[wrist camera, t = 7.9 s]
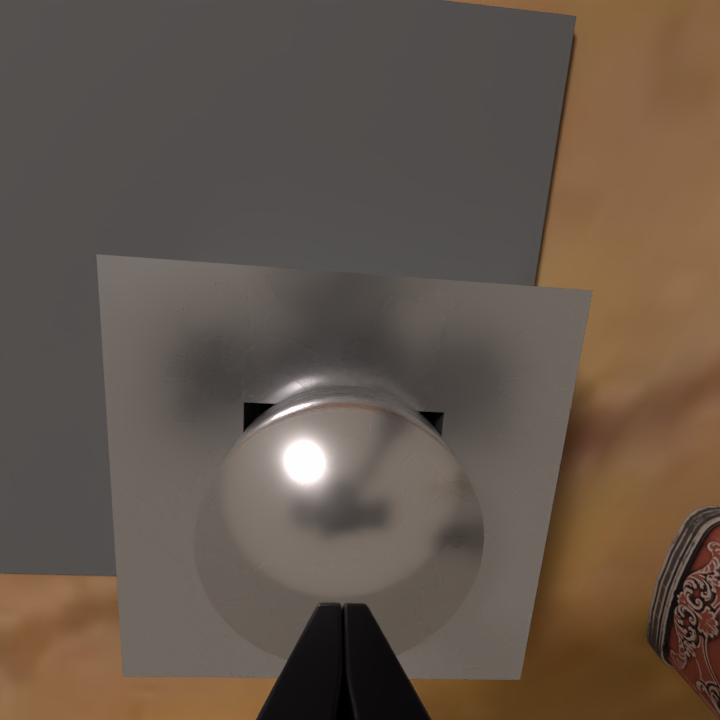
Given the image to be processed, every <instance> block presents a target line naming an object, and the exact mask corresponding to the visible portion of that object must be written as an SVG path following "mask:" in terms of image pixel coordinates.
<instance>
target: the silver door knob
mask: <svg viewBox="0 0 720 720" xmlns="http://www.w3.org/2000/svg"><path fill="white" fill-rule="evenodd" d="M483 545H484V527H483V518H482V513H481V509H480V504H479V501H478V499H477V496H476V493H475V491H474V488H473V486H472V484H471V483H470V481H469V479H468V477H467V476H466V474H465V472H464V471H463V469H462V467H461V466H460V464H459V463H458V461H457V460H456V458H455V457H454V455H453V454H452V452H451V450H450V449H449V447H448V446H447V444H446V443H445V441H444V440H443V438H442V437H441V435H440V434H439V433H438V431H437V430H436V429H435V427H434V426H433V425H432V424H431V423H430V422H429V421H428V420H427V419H426V418H425V417H424V416H423V415H422V414H421V413H420V412H418V411H417V410H416V409H414V408H413V407H412V406H410V405H409V404H407V403H405V402H403V401H402V400H400V399H398V398H396V397H394V396H391V395H389V394H386V393H384V392H381V391H377V390H373V389H369V388H365V387H357V386H327V387H319V388H314V389H310V390H307V391H303V392H300V393H297V394H295V395H292V396H290V397H287V398H285V399H283V400H282V401H280V402H278V403H276V404H275V405H273V406H271V407H270V408H269V409H267V410H266V411H265V412H263V413H262V414H261V415H259V416H258V417H257V418H256V419H255V420H254V421H253V422H252V423H251V424H250V425H249V426H248V427H247V429H246V430H245V431H244V433H243V434H242V435H241V437H240V438H239V439H238V441H237V442H236V444H235V445H234V447H233V449H232V450H231V452H230V453H229V455H228V456H227V458H226V459H225V461H224V462H223V464H222V465H221V467H220V469H219V470H218V472H217V473H216V475H215V476H214V478H213V480H212V481H211V483H210V485H209V487H208V489H207V490H206V492H205V494H204V497H203V500H202V502H201V505H200V508H199V510H198V515H197V520H196V524H195V533H194V553H195V562H196V566H197V570H198V574H199V578H200V581H201V583H202V586H203V588H204V590H205V593H206V595H207V597H208V598H209V600H210V602H211V603H212V605H213V607H214V608H215V610H216V611H217V612H218V613H219V615H220V616H221V617H222V618H223V620H224V621H225V622H226V623H227V624H228V625H229V626H230V627H231V628H232V629H233V630H234V631H235V632H236V633H238V634H239V635H240V636H242V637H243V638H244V639H246V640H247V641H248V642H250V643H251V644H253V645H255V646H256V647H258V648H260V649H262V650H263V651H265V652H267V653H270V654H272V655H274V656H277V657H279V658H282V659H285V660H288V658H289V656H290V655H291V653H292V651H293V649H294V647H295V645H296V643H297V641H298V639H299V638H300V636H301V634H302V632H303V630H304V628H305V626H306V624H307V623H308V621H309V619H310V617H311V615H312V613H313V611H314V609H315V607H316V606H317V605H318V604H319V603H320V602H333V603H340V604H341V605H342V607H343V605H344V604H345V603H365V604H366V605H367V606H368V607H369V608H370V610H371V612H372V614H373V616H374V617H375V619H376V621H377V623H378V625H379V626H380V628H381V630H382V632H383V634H384V635H385V637H386V639H387V641H388V643H389V644H390V646H391V648H392V650H393V652H394V653H395V655H396V656H397V655H399V654H402V653H404V652H406V651H408V650H410V649H411V648H413V647H415V646H417V645H419V644H420V643H422V642H423V641H425V640H426V639H428V638H429V637H431V636H432V635H433V634H434V633H436V632H437V631H438V630H439V629H440V628H442V627H443V626H444V625H445V624H446V623H447V622H448V621H449V620H450V618H451V617H452V616H453V615H454V614H455V613H456V612H457V610H458V609H459V608H460V606H461V605H462V603H463V602H464V601H465V599H466V597H467V596H468V594H469V592H470V590H471V588H472V586H473V584H474V582H475V579H476V576H477V574H478V571H479V568H480V563H481V559H482V555H483Z"/></svg>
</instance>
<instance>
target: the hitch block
mask: <svg viewBox="0 0 720 720" xmlns="http://www.w3.org/2000/svg"><path fill="white" fill-rule="evenodd" d="M96 256H97V272H98V288H99V304H100V320H101V336H102V352H103V368H104V383H105V399H106V415H107V431H108V447H109V463H110V479H111V495H112V511H113V527H114V543H115V559H116V575H117V591H118V607H119V623H120V638H121V654H122V670H123V677H233V678H278V677H279V675H280V673H281V672H282V670H283V668H284V666H285V664H286V662H287V660H285V659H282V658H279V657H277V656H274V655H272V654H270V653H267V652H265V651H263V650H262V649H260V648H258V647H256V646H255V645H253V644H251V643H250V642H248V641H247V640H246V639H244V638H243V637H242V636H240V635H239V634H238V633H236V632H235V631H234V630H233V629H232V628H231V627H230V626H229V625H228V624H227V623H226V622H225V621H224V620H223V618H222V617H221V616H220V615H219V613H218V612H217V611H216V610H215V608H214V607H213V605H212V603H211V602H210V600H209V598H208V597H207V595H206V593H205V590H204V588H203V586H202V583H201V581H200V578H199V574H198V570H197V566H196V562H195V553H194V533H195V524H196V520H197V515H198V510H199V508H200V505H201V502H202V500H203V497H204V494H205V492H206V490H207V489H208V487H209V485H210V483H211V481H212V480H213V478H214V476H215V475H216V473H217V472H218V470H219V469H220V467H221V465H222V464H223V462H224V461H225V459H226V458H227V456H228V455H229V453H230V452H231V450H232V449H233V447H234V445H235V444H236V442H237V441H238V439H239V438H240V437H241V435H242V434H243V433H244V431H245V430H246V429H247V427H248V426H249V425H250V424H251V423H252V422H253V421H254V420H255V419H256V418H257V417H258V416H259V415H261V414H262V413H263V412H265V411H266V410H267V409H269V408H270V407H271V406H273V405H275V404H276V403H278V402H280V401H282V400H283V399H285V398H287V397H290V396H292V395H295V394H297V393H300V392H303V391H307V390H310V389H314V388H319V387H327V386H357V387H365V388H369V389H373V390H377V391H381V392H384V393H386V394H389V395H391V396H394V397H396V398H398V399H400V400H402V401H403V402H405V403H407V404H409V405H410V406H412V407H413V408H414V409H416V410H417V411H418V412H420V413H421V414H422V415H423V416H424V417H425V418H426V419H427V420H428V421H429V422H430V423H431V424H432V425H433V426H434V427H435V429H436V430H437V431H438V433H439V434H440V435H441V437H442V438H443V440H444V441H445V443H446V444H447V446H448V447H449V449H450V450H451V452H452V454H453V455H454V457H455V458H456V460H457V461H458V463H459V464H460V466H461V467H462V469H463V471H464V472H465V474H466V476H467V477H468V479H469V481H470V483H471V484H472V486H473V488H474V491H475V493H476V496H477V499H478V501H479V504H480V509H481V513H482V518H483V527H484V545H483V555H482V559H481V563H480V568H479V571H478V574H477V576H476V579H475V582H474V584H473V586H472V588H471V590H470V592H469V594H468V596H467V597H466V599H465V601H464V602H463V603H462V605H461V606H460V608H459V609H458V610H457V612H456V613H455V614H454V615H453V616H452V617H451V618H450V620H449V621H448V622H447V623H446V624H445V625H444V626H443V627H442V628H440V629H439V630H438V631H437V632H436V633H434V634H433V635H432V636H431V637H429V638H428V639H426V640H425V641H423V642H422V643H420V644H419V645H417V646H415V647H413V648H411V649H410V650H408V651H406V652H404V653H402V654H399V655H397V656H396V657H397V659H398V661H399V662H400V664H401V666H402V668H403V669H404V671H405V673H406V675H407V677H408V678H409V679H483V680H520V678H521V673H522V667H523V662H524V656H525V651H526V646H527V640H528V635H529V630H530V624H531V619H532V614H533V608H534V603H535V597H536V592H537V587H538V581H539V576H540V571H541V565H542V560H543V554H544V549H545V544H546V538H547V533H548V528H549V522H550V517H551V512H552V506H553V501H554V495H555V490H556V485H557V479H558V474H559V469H560V463H561V458H562V452H563V447H564V442H565V436H566V431H567V426H568V420H569V415H570V410H571V404H572V399H573V393H574V388H575V383H576V377H577V372H578V367H579V361H580V356H581V350H582V345H583V340H584V334H585V329H586V324H587V318H588V313H589V307H590V302H591V297H592V291H593V290H579V289H565V288H552V287H538V286H524V285H511V284H497V283H483V282H470V281H456V280H442V279H428V278H415V277H401V276H387V275H374V274H360V273H346V272H333V271H319V270H305V269H291V268H278V267H264V266H250V265H237V264H223V263H209V262H196V261H182V260H168V259H154V258H141V257H127V256H113V255H100V254H96Z"/></svg>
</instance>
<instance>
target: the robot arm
mask: <svg viewBox="0 0 720 720" xmlns="http://www.w3.org/2000/svg"><path fill="white" fill-rule="evenodd" d="M256 720H431V718H430V716H429V714H428V713H427V711H426V709H425V707H424V705H423V704H422V702H421V700H420V698H419V696H418V695H417V693H416V691H415V689H414V687H413V686H412V684H411V682H410V680H409V678H408V677H407V675H406V673H405V671H404V669H403V668H402V666H401V664H400V662H399V661H398V659H397V657H396V655H395V653H394V652H393V650H392V648H391V646H390V644H389V643H388V641H387V639H386V637H385V635H384V634H383V632H382V630H381V628H380V626H379V625H378V623H377V621H376V619H375V617H374V616H373V614H372V612H371V610H370V608H369V607H368V606H367V605H366V604H365V603H345V604H344V605H343V607H342V605H341V604H340V603H333V602H320V603H319V604H318V605H317V606H316V607H315V609H314V611H313V613H312V615H311V617H310V619H309V621H308V623H307V624H306V626H305V628H304V630H303V632H302V634H301V636H300V638H299V639H298V641H297V643H296V645H295V647H294V649H293V651H292V653H291V655H290V656H289V658H288V660H287V662H286V664H285V666H284V668H283V670H282V672H281V673H280V675H279V677H278V679H277V681H276V683H275V685H274V687H273V688H272V690H271V692H270V694H269V696H268V698H267V700H266V702H265V704H264V705H263V707H262V709H261V711H260V713H259V715H258V717H257V719H256Z"/></svg>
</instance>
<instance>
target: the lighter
mask: <svg viewBox="0 0 720 720" xmlns="http://www.w3.org/2000/svg"><path fill="white" fill-rule="evenodd" d="M647 641H648V643H649V644H650V646H651V647H652V648H653V649H654V651H655V652H656V653H657V654H658V655H659V657H660V658H661V659H662V660H663V661H664V662H665V664H666V665H668V666H670V667H671V668H674V669H676V670H677V671H678V673H679V674H680V675H681V676H682V677H683V678H684V680H685V681H686V682H687V683H688V684H689V685H690V686H691V688H692V689H693V690H694V691H695V692H696V693H697V695H698V696H699V697H700V698H701V699H702V700H703V702H704V703H705V704H706V705H707V706H708V707H709V708H710V710H711V711H712V712H713V713H714V714H715V715H716V717H717V718H718V719H719V720H720V507H719V506H706V507H703V508H700V509H697V510H696V511H694V512H693V513H691V514H690V515H689V516H688V517H687V518H686V519H685V521H684V522H683V524H682V526H681V528H680V530H679V531H678V533H677V535H676V537H675V539H674V541H673V543H672V544H671V546H670V548H669V550H668V553H667V555H666V558H665V560H664V563H663V565H662V568H661V570H660V573H659V575H658V578H657V580H656V584H655V589H654V593H653V597H652V601H651V605H650V610H649V619H648V628H647Z"/></svg>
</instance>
